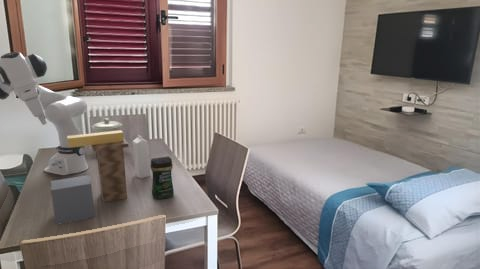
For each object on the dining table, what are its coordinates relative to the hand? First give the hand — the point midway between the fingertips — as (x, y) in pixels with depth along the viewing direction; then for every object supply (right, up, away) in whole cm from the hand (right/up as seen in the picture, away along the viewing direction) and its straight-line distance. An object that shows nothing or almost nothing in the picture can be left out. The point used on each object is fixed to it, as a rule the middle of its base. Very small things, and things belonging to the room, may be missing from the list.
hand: (44, 121), depth 149 cm
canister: (-1, -16, +78) cm, 79 cm away
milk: (+33, -27, +35) cm, 55 cm away
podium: (+17, -39, -8) cm, 43 cm away
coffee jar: (+49, -34, +11) cm, 60 cm away
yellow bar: (+22, -9, +1) cm, 24 cm away
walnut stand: (+26, -34, +10) cm, 44 cm away
